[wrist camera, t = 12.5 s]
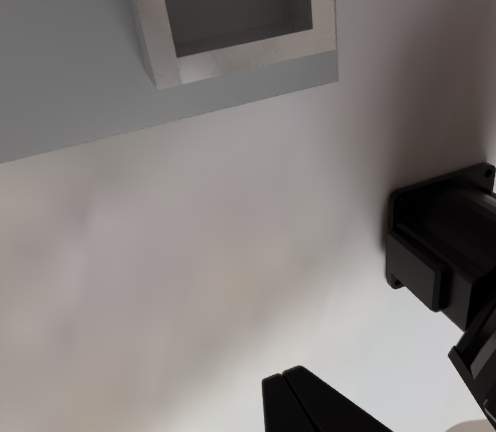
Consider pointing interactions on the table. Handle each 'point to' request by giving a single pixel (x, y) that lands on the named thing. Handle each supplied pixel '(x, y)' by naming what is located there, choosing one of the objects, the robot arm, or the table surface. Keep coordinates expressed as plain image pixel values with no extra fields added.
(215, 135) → the table surface
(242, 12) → the panel board
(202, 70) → the hollow square tube
